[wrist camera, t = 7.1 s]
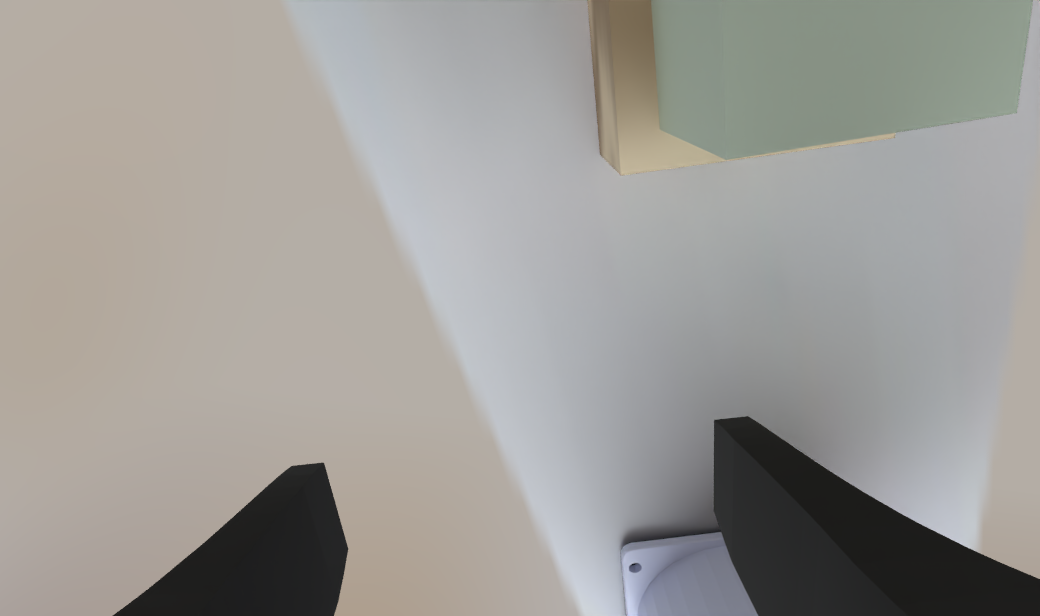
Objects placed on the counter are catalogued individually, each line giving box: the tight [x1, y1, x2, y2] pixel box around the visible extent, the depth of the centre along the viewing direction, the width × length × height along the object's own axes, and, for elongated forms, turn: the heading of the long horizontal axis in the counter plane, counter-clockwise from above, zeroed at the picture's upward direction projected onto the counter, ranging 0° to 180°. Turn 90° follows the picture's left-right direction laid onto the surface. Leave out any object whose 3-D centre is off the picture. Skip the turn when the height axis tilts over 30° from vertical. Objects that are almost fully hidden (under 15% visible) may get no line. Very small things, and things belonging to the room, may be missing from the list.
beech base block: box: [587, 0, 895, 176], centre depth 16 cm, size 7×7×4 cm
